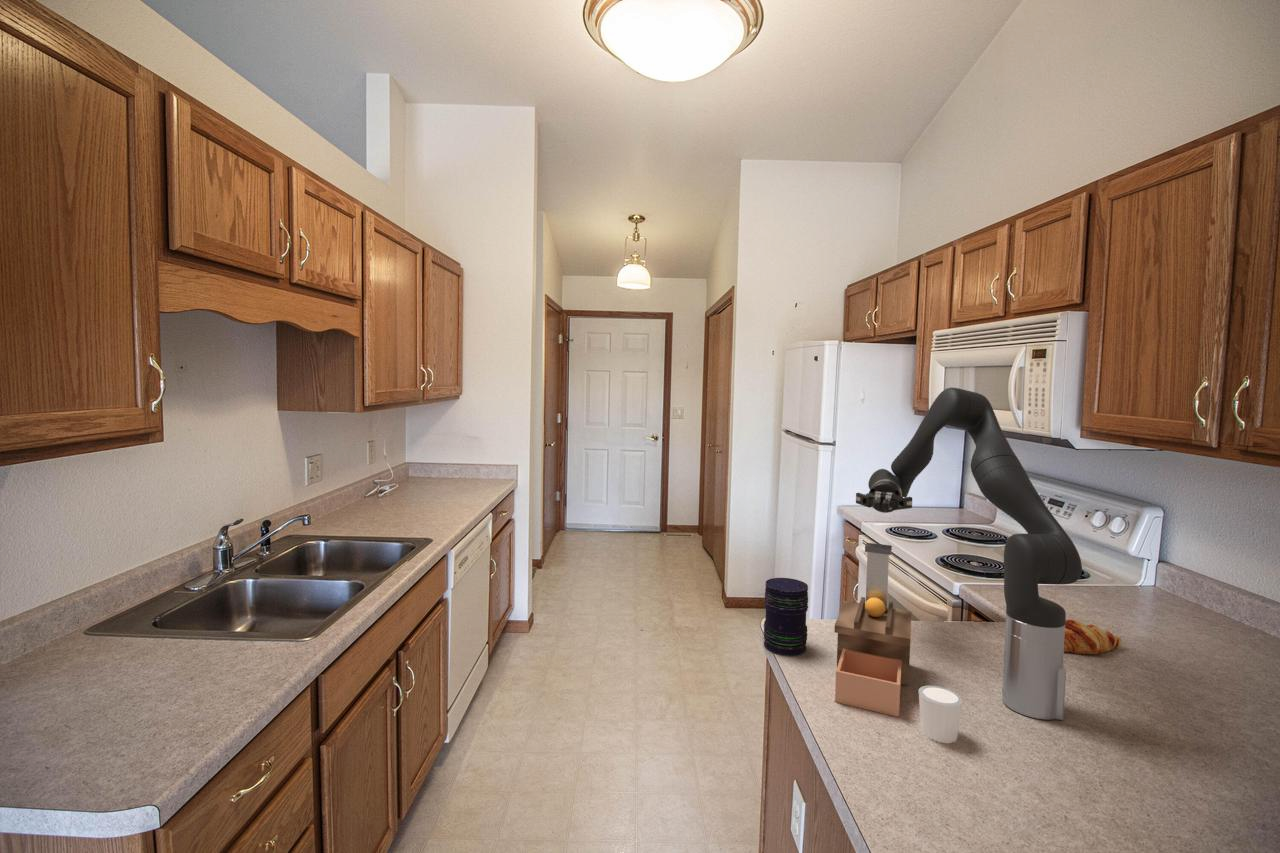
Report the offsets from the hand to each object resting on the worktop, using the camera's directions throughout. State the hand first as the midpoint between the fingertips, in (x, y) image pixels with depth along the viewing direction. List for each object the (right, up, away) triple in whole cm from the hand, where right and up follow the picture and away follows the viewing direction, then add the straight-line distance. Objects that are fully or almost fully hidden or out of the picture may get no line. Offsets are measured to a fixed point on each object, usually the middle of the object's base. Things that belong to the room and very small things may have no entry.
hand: (881, 506), depth 129 cm
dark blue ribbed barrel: (-21, -34, +4) cm, 40 cm away
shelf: (-5, -34, -8) cm, 36 cm away
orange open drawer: (-10, -35, -17) cm, 40 cm away
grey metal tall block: (-3, -22, -4) cm, 22 cm away
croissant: (+50, -35, +6) cm, 61 cm away
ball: (-5, -20, -8) cm, 22 cm away
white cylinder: (-3, -36, -30) cm, 46 cm away
